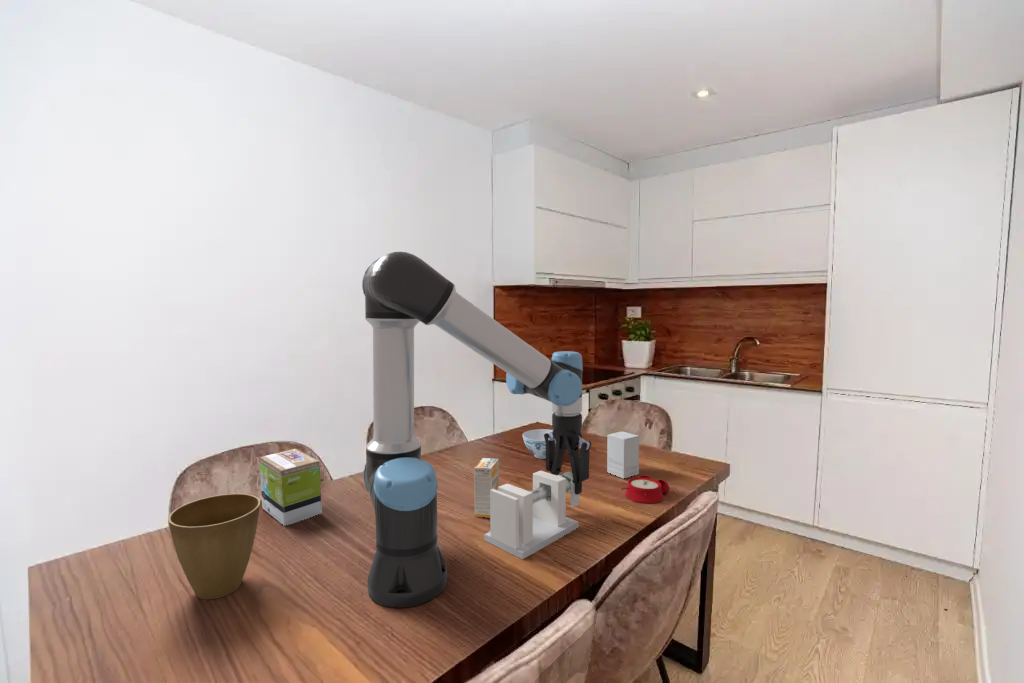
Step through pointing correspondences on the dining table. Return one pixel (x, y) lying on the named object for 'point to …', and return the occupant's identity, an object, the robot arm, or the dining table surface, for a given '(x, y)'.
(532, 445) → the chinaware
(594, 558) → the dining table surface
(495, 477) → the supplement box
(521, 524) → the housing
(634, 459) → the supplement box
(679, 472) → the dining table surface
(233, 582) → the plant pot
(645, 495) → the alarm clock
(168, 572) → the dining table surface
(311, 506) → the tea box
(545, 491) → the shaft
